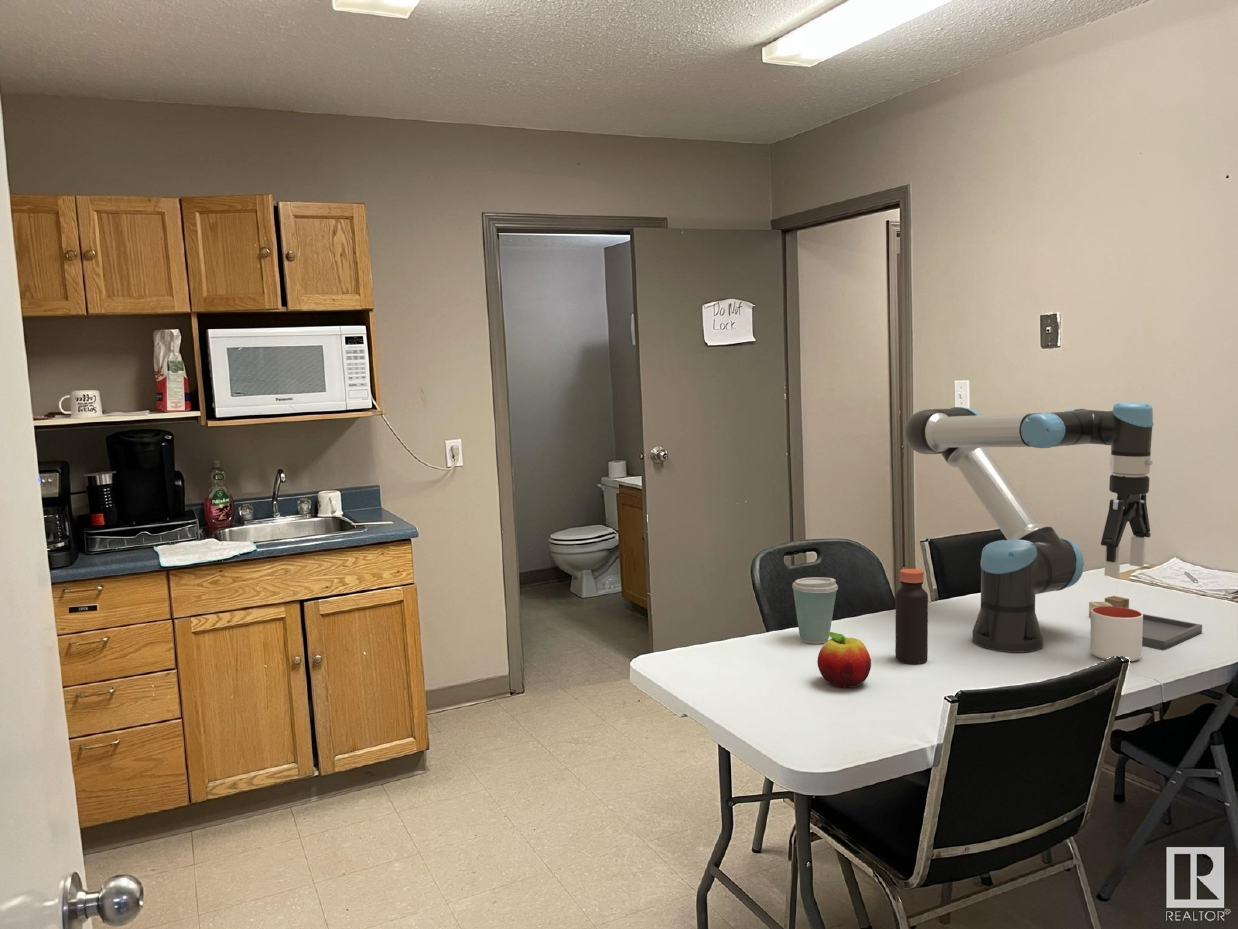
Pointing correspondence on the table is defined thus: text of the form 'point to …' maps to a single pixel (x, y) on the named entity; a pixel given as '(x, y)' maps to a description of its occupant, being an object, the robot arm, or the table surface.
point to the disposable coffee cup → (814, 607)
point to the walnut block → (1118, 601)
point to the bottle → (911, 618)
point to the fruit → (844, 661)
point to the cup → (1116, 632)
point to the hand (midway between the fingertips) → (1124, 571)
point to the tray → (1167, 631)
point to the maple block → (1097, 605)
